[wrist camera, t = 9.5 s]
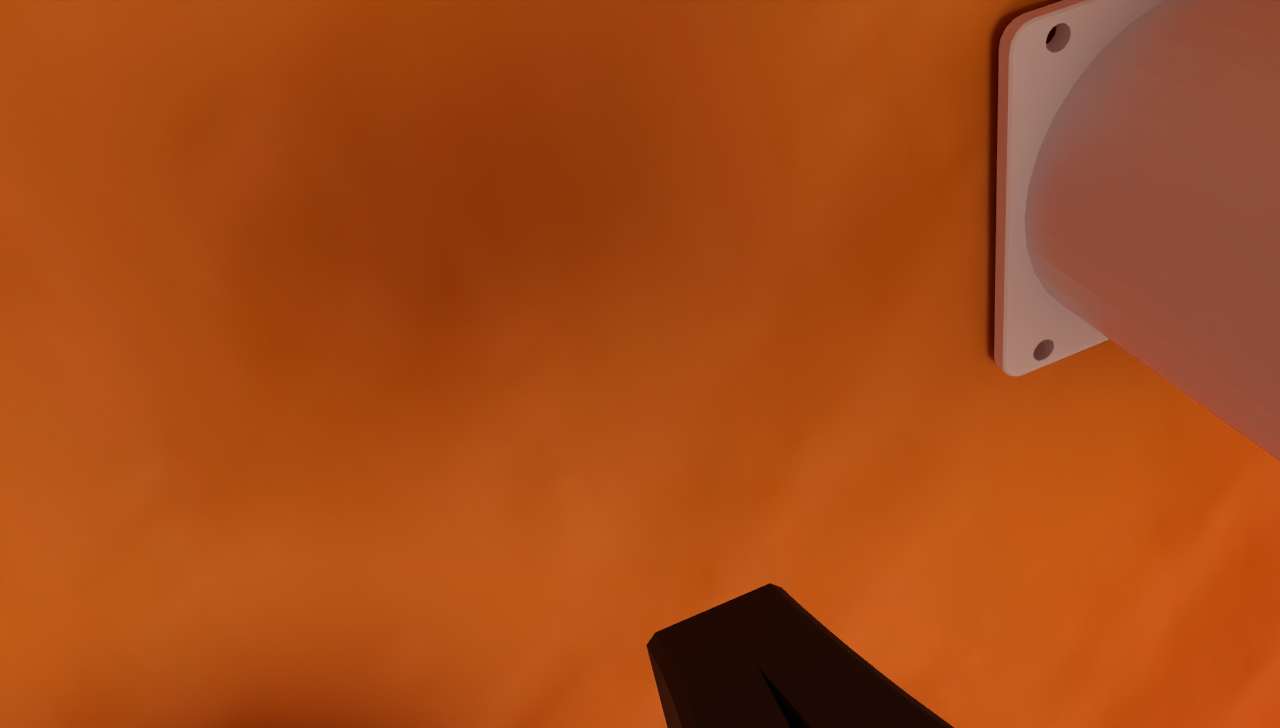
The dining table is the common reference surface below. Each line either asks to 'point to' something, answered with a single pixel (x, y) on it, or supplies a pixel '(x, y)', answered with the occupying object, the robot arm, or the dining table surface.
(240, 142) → the dining table surface
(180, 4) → the dining table surface
